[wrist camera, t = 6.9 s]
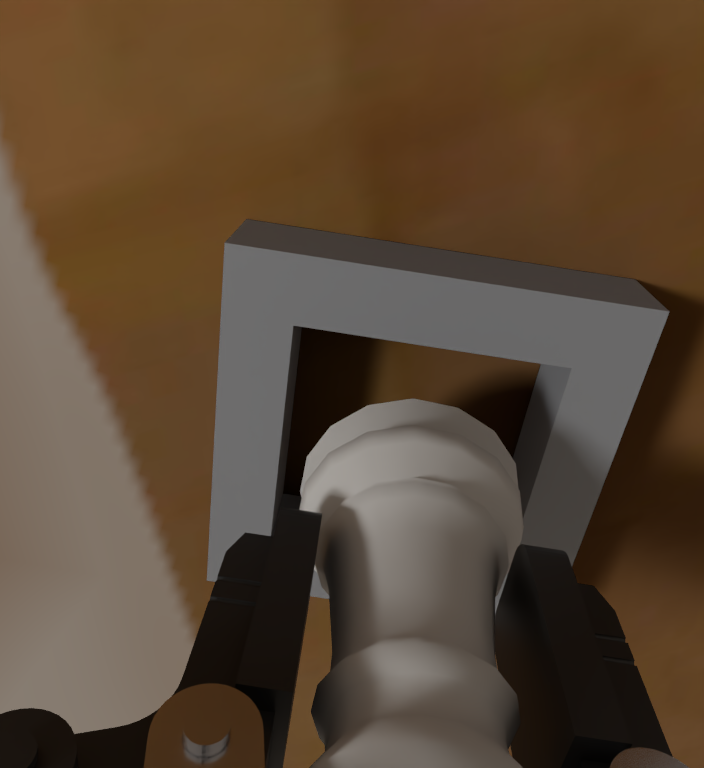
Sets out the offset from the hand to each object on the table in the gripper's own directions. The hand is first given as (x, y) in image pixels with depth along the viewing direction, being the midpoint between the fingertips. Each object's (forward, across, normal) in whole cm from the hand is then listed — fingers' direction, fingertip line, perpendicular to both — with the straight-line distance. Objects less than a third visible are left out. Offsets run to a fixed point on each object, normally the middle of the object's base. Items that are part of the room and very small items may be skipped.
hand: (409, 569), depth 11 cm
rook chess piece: (+3, 0, 0) cm, 3 cm away
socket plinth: (+5, 0, 0) cm, 5 cm away
